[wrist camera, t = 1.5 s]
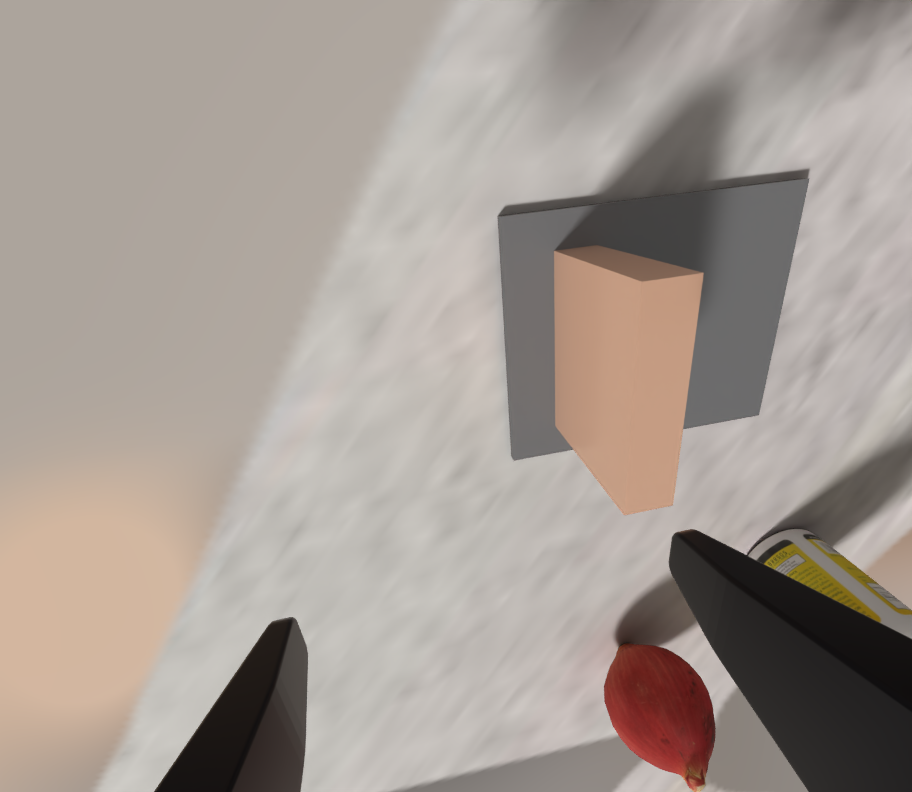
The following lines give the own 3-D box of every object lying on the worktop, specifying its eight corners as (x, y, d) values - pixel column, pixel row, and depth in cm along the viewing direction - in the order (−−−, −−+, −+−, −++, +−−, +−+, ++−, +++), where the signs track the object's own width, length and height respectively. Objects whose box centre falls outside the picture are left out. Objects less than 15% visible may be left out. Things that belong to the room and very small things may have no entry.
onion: (660, 602, 29) (756, 739, 22) (670, 654, 31) (759, 792, 24) (575, 636, 29) (643, 785, 22) (593, 685, 31) (658, 833, 24)
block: (602, 244, 18) (711, 271, 12) (595, 418, 22) (678, 504, 16) (554, 250, 18) (642, 281, 12) (555, 426, 21) (624, 515, 16)
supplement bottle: (731, 597, 30) (880, 767, 21) (745, 535, 28) (919, 697, 19) (804, 580, 31) (979, 739, 22) (824, 517, 28) (1029, 667, 19)
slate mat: (800, 178, 19) (809, 178, 19) (752, 411, 24) (758, 415, 23) (497, 215, 17) (500, 216, 17) (511, 456, 22) (513, 460, 22)
